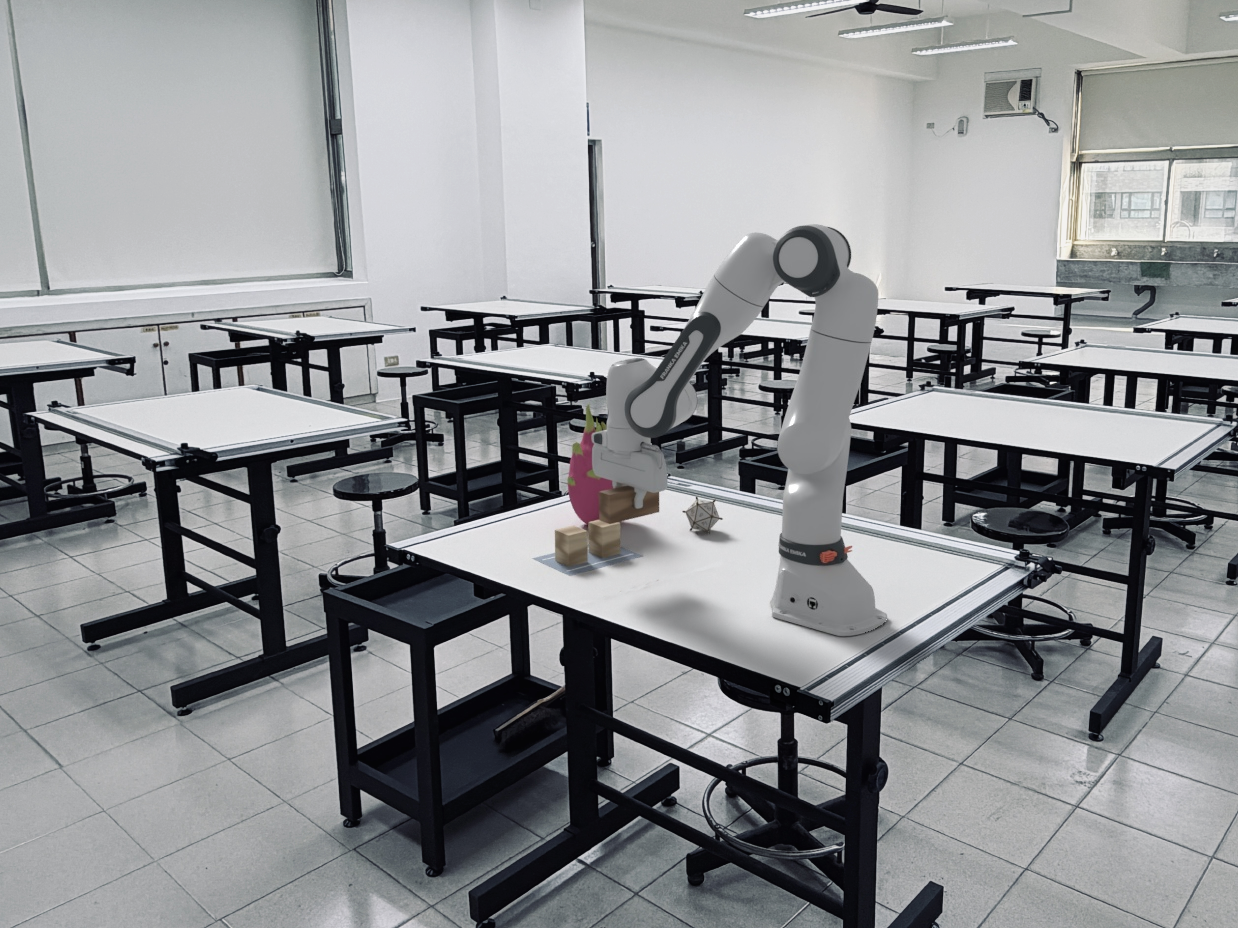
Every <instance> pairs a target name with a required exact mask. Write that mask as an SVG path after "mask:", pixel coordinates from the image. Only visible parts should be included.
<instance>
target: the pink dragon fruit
mask: <svg viewBox="0 0 1238 928" xmlns="http://www.w3.org/2000/svg"><path fill="white" fill-rule="evenodd" d="M598 421H599V420H598V418H596V421H594V418H593V415H592V411H591V408H590V403H589V404H587V405H586V408H585V426H584V430H583V434H582V438H581V441H580V442H577V441H575V442H574V443H573V444H572V449H571V453H572V454H571V458H570V460H569V469H568V477H567V491H568V498H569V501H570V504H571V506H572V509H573V511H574V513H575V514H576V516H577V518H579V520H580V521H582V522H583V523H584V524H585V525H587V526H588V522H591V521H595V520H599V492H600V491H604V490H609V489H613V486H612V480H608V479H605V478H602V477H598V476H596V475H595V473H594V471H593V467H592V448H593V445H594V443H593V442H592V438H591V437H592V434H593V433H596V432H600V431H603V430H606V429H607V424H605V422H604V421H601V423H599V422H598ZM595 426H596V427H595ZM623 486H627V485H625V484H624V485H623Z"/></svg>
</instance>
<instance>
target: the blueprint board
mask: <svg viewBox="0 0 1238 928" xmlns="http://www.w3.org/2000/svg"><path fill="white" fill-rule="evenodd" d="M642 557H644V555H643V554H641V553H640V554H639V553H637V552H635V551H633V550H629V548H628V549H627V548H625V547H624V546H623V547H622V546H620V554H617V555H613V556H609V557H605V558H601V557H598V556H596V555H594V554H591V553H589V543H588V562H586V563H582V564H578V565H574V566H570V567H568V566H566V565H563V564H561V563H559V562H557V561H555V552H553V553H548V554H545V555H540V556H537V557H532V558H531V559H532V560H534V561H536V562H538V563H541V564H543V565H545V566H547V567H549V568H552V569H554V570H556V571H558V572H560V573H562V574H565V575H566V576H569V577H572V576H574V575H578V574H582V573H585V572H590V571H594V570H597V569H601V568H605V567H608V566H612V565H616V564H620V563H624V562H626V561H627V562H628V561H631V560H635V559H639V558H642Z"/></svg>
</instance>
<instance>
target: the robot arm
mask: <svg viewBox="0 0 1238 928" xmlns="http://www.w3.org/2000/svg"><path fill="white" fill-rule="evenodd" d="M851 260H852V249H851V245H850V243H849V241H848V239H847V237H846V236H845V235H844V234H843V233H842V232H841V231H840V230H838V229H836V228H833V227H831V226H826V225H822V224H814V223H813V224H812V223H811V224H806V225H805V224H804V225H798V226H795V227H793V228H791V229H788V230H787V231H786V232H785V233H784V234H782V235H781V236H780V238H779V239H775V238H774V237H772V236H771V235H768V234H766V233H764V232H750V233H747V234H745V235H744V236H743V237H742V238H741V239H740V240H739V241H738V242H737V243H736V245H734V247H733V248H732V249H731V251H729V252H728V254H727V255H726V256H725V258H724V260H723V261H722V262H721V264H720V265H719V266H718V267H717V269H716V271H715V272H714V274H713V276H712V277H711V279H710V281H709V283H708V284H707V286H706V288H705V290H704V291H703V293H702V295H701V298H700V299H699V301H698V303H697V305H696V307H695V308H694V311H693V312H692V314H691V315H690V317H689V319H688V322H686V325H685V326H684V328H683V330H682V331H681V333H680V334H679V336H678V337H677V339H676V340H675V342H674V343H673V344H672V346H671V347H670V349H669V350H668V352H667V353H666V355H664V358H663V359H662V360H661V362H660V364H659V365H658V367H655V366H654V365H652V364H651V363H650V362H649V361H648V360H647V359H645V358H642V357H634V358H628V359H623V360H619V361H617V362H614V363H612V364H611V366H610V367H609V368H608V372H607V376H606V386H605V387H606V389H605V390H606V391H605V393H606V395H605V398H606V399H605V401H606V402H605V403H606V408H607V413H608V416H607V420H606V427H607V429H606V430H603V429H602V431H600V432H596V433H593V434H592V437H591V438H592V442H593V443H594V445H593V448H592V467H593V471H594V473H595V475H596V476H598V477H602V478H605V479H608V480H612V486H613V488H618V487H623V485H624V484H625V485H628V486H632V487H634V490H635V492H636V496H635V498H634V499H632V507H634V508H637V509H638V508H642V507H643V498H644V496H645V494H646V492H647V491H648V492H652V493H656V492H659V493H660V492H664V491H666V489H667V487H668V482H669V481H668V472H667V464H666V460H665V456H664V452H662V450H661V448H660V447H659V446H658V445H656V444H652V443H651V442H652V441H651V439H653V438H654V439H655V438H659V437H661V436H663V435H665V434H666V433H667V432H669V430H671V429H673V428H675V427H677V426H679V425H680V424H681V423H683V422H686V421H687V420H688V419H690V418H691V417H692V416H693V415H694V413H695V412H696V410H697V406H698V393H697V391H696V389H695V387H694V385H693V384H692V383H691V382H690V381H691V380H692V379H693V377H694V376H695V374H696V373H697V371H698V370H699V368H700V367H701V365H703V363H704V362H705V360H706V359H707V358H708V357H709V356H711V354H713V353H715V351H716V350H718V349H719V348H721V347H722V346H724V345H725V344H727V343H729V342H730V341H732V340H734V339H736V338H737V337H739V336H741V335H742V334H743V333H744V332H745V331H746V330H747V329H748V328H749V327H750V326H751V324H753V322H754V321H755V320H756V319H757V317H758V316H759V315H760V314H761V312H762V311H763V309H764V307H765V306H766V304H767V303H768V301H769V300H770V298H771V297H772V295H773V293H774V292H775V291H776V289H777V288H779V286H781V284H783V283H786V284H787V285H789V286H790V287H792V288H793V289H796V290H798V291H799V292H800V293H803V294H804V295H806V296H808V297H809V298H814V301H815V307H814V314H813V318H812V322H811V325H810V328H809V329H810V330H809V335H808V338H807V342H806V347H805V350H804V355H803V358H802V359H803V360H802V362H801V368H800V370H799V374H798V377H797V380H796V382H795V386H794V389H793V391H792V393H791V397H790V400H789V402H788V403H789V404H788V406H787V409H786V412H785V416H784V418H783V422H782V426H781V429H780V432H779V436H778V439H777V447H776V449H777V454H778V457H779V459H780V461H781V462H782V464H783V465H784V466H785V468H787V476H786V481H785V486H784V490H783V494H782V516H781V519H782V520H781V521H782V523H781V533H779V539H778V554H779V564H778V571H777V578H776V583H775V587H774V590H773V594H772V597H771V600H770V603H769V604H770V607H771V608H772V611H771V617H773V618H775V619H778V620H781V621H785V622H790V623H792V624H796V625H800V626H803V627H806V628H810V629H813V630H817V631H821V632H823V633H827V634H829V635H834V636H837V637H851V636H858V635H862V634H865V632H866V633H868V631H869V632H871V630H872V631H874V630H876V629H875V628H877V627H878V626H880V625H882V624H883V623H884V622H885V621H886V619H887V620H888V614H887V612H884V611H883V610H881V609H879V608H876V599H875V592H874V588H873V586H872V585H871V584H870V582H868V581H867V579H866V578H864V576H863V575H862V574H861V573H860V572H859V571H858V569H857V568H855V566H854V565H853V564H852V563H851V562H850V561H849V559H848V558H849V557H848V553H851V552H853V550H852V548H853V545H849V546H846V545H845V542H844V539H843V536H842V520H843V518H842V517H843V502H844V501H843V500H844V493H845V486H846V485H845V484H846V479H847V471H848V464H849V463H848V462H849V455H850V449H851V448H850V446H851V438H852V437H851V436H852V424H851V420H850V416H851V413H852V409H853V406H854V403H855V400H856V399H857V395H858V391H859V389H860V386H861V383H862V380H863V376H864V374H865V373H864V372H865V368H866V365H867V360H868V357H869V354H870V349H871V345H872V342H873V337H874V333H875V328H876V322H877V316H878V306H879V289H878V287H877V285H876V284H875V282H874V281H873V280H872V279H871V278H869V277H868V276H866V275H864V274H861V273H857V272H854V271H852V270H850V269H849V268H850V264H851V262H852V261H851ZM886 622H887V621H886ZM882 626H883V625H882ZM873 629H874V630H873ZM877 629H878V628H877Z"/></svg>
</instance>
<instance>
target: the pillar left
mask: <svg viewBox="0 0 1238 928" xmlns="http://www.w3.org/2000/svg"><path fill="white" fill-rule="evenodd" d="M588 544H589V540H588V530H586V529H583V528H580V527H578V526H576V525H570V526H566V527H560V528H557V529H554V553H555V561H557V562H559V563H561V564H563V565H566V566H568V567H570V566H574V565H578V564H582V563H586V562H588Z"/></svg>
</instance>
